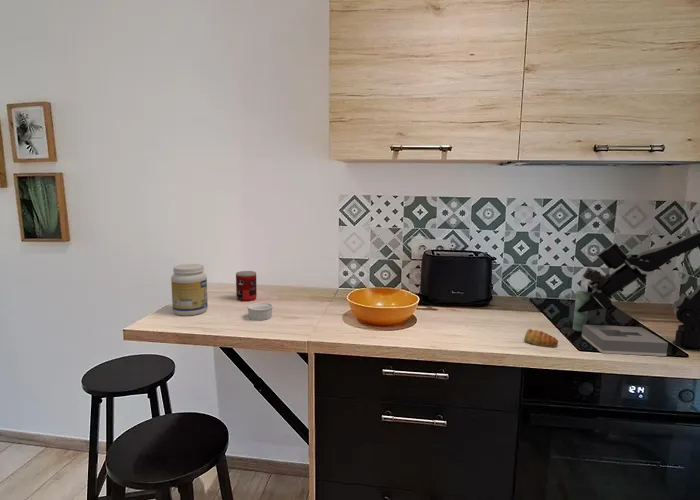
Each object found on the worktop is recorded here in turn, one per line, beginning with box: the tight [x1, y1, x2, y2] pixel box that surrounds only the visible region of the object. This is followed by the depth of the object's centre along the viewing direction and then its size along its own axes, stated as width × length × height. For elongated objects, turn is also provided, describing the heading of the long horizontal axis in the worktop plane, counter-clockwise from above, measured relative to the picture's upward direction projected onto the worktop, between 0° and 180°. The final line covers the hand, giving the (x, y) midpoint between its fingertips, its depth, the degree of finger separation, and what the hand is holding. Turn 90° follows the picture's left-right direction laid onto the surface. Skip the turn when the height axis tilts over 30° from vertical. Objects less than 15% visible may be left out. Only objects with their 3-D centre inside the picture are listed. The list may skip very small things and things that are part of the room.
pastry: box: [523, 328, 559, 348], centre depth 139 cm, size 9×7×4 cm
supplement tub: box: [170, 263, 209, 317], centre depth 163 cm, size 12×12×17 cm
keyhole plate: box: [581, 324, 669, 357], centre depth 138 cm, size 18×14×4 cm
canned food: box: [235, 270, 258, 303], centre depth 181 cm, size 8×8×11 cm
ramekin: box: [246, 302, 274, 322], centre depth 159 cm, size 9×9×4 cm
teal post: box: [572, 290, 590, 333], centre depth 151 cm, size 4×4×13 cm
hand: (577, 307), depth 152 cm, fingers open, 9 cm apart
